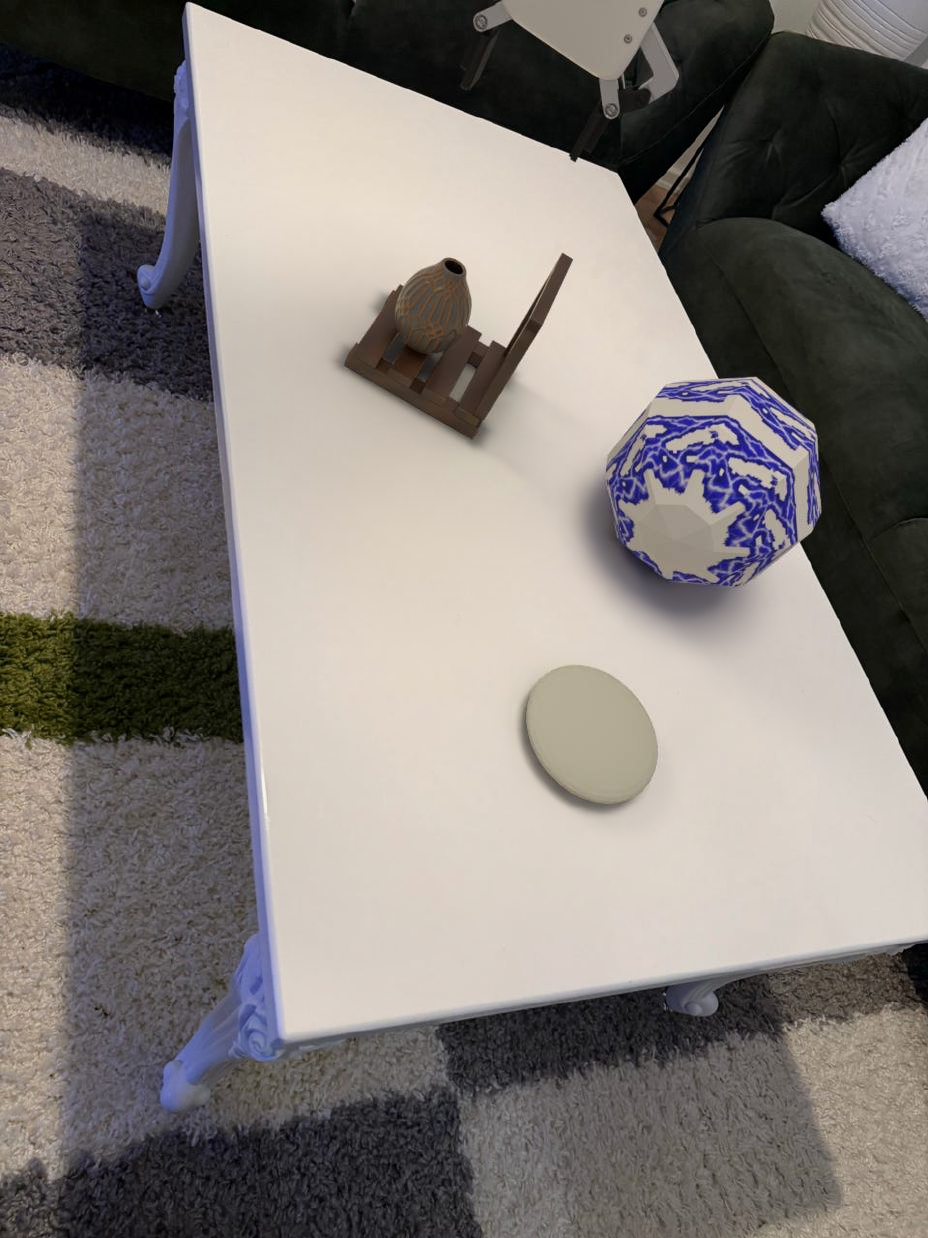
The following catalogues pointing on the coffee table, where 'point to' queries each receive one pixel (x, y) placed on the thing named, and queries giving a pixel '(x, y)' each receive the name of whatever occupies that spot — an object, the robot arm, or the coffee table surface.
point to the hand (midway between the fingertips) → (522, 118)
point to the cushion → (591, 734)
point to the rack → (452, 361)
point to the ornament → (715, 481)
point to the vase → (434, 307)
